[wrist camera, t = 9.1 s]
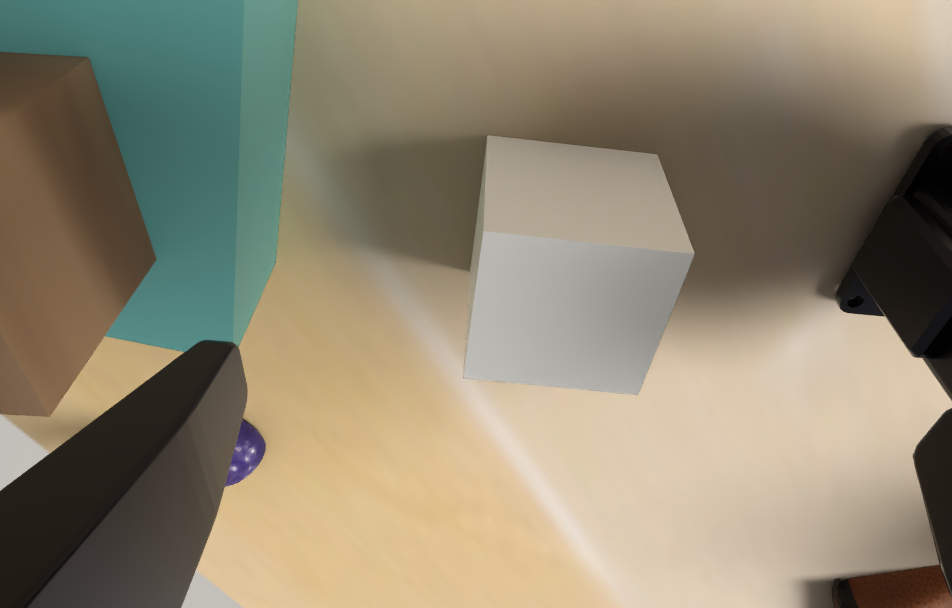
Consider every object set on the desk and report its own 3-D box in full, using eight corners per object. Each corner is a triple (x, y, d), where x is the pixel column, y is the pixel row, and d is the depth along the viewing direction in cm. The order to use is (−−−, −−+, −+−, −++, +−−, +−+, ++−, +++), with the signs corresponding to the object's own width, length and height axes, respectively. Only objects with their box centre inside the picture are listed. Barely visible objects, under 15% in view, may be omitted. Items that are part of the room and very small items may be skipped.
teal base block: (305, -60, 16) (243, 0, 12) (278, 256, 22) (232, 361, 18) (-146, -193, 14) (-376, -173, 11) (-38, 185, 21) (-158, 283, 17)
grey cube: (656, 153, 19) (695, 254, 15) (615, 285, 22) (638, 395, 19) (487, 133, 19) (483, 231, 15) (470, 269, 22) (463, 377, 18)
